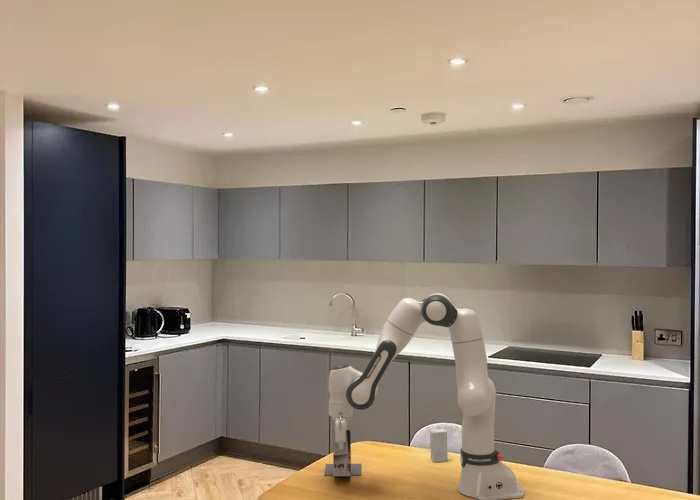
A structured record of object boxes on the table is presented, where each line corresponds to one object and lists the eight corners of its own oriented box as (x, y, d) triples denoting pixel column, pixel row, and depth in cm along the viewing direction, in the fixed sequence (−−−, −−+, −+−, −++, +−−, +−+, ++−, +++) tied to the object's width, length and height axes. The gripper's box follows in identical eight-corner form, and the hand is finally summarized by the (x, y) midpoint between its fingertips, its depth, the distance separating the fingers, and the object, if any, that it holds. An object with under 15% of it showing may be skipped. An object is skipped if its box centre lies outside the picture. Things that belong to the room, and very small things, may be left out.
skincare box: (444, 458, 254) (444, 428, 254) (448, 461, 250) (447, 431, 250) (429, 459, 253) (429, 429, 253) (433, 462, 249) (432, 432, 249)
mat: (361, 464, 248) (361, 463, 248) (361, 475, 236) (361, 474, 236) (325, 464, 248) (325, 463, 248) (324, 476, 236) (324, 474, 236)
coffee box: (350, 476, 227) (350, 429, 233) (332, 476, 227) (332, 430, 233) (351, 476, 236) (350, 431, 241) (334, 476, 236) (334, 431, 241)
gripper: (349, 417, 219) (349, 457, 219) (349, 402, 240) (350, 438, 240) (331, 417, 219) (331, 457, 219) (333, 402, 240) (333, 439, 240)
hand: (341, 447), depth 230 cm, fingers closed
